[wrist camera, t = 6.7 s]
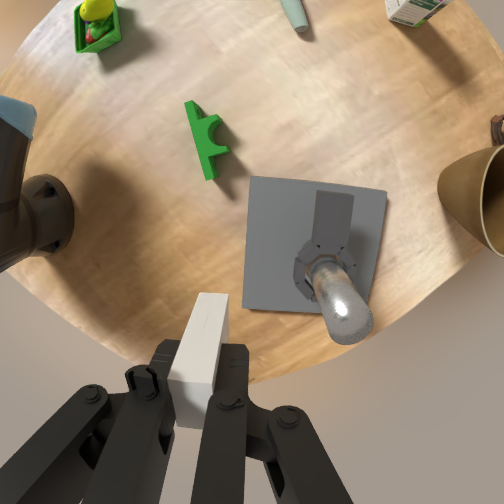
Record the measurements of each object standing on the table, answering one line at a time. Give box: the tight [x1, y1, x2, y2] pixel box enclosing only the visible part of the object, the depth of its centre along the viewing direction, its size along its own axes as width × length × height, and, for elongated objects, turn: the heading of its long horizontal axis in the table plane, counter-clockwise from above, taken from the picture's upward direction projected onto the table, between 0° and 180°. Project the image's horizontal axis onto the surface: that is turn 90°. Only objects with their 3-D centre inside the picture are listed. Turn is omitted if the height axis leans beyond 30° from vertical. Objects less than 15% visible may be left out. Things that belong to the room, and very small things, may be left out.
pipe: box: [301, 239, 374, 345], centre depth 32 cm, size 4×4×20 cm
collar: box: [293, 190, 357, 302], centre depth 33 cm, size 7×13×2 cm, turn 176°
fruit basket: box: [74, 0, 122, 53], centre depth 27 cm, size 11×9×11 cm
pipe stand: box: [242, 176, 387, 313], centre depth 43 cm, size 20×20×2 cm
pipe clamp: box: [184, 100, 231, 181], centre depth 37 cm, size 11×4×5 cm, turn 15°
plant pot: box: [438, 144, 504, 258], centre depth 31 cm, size 15×15×16 cm
